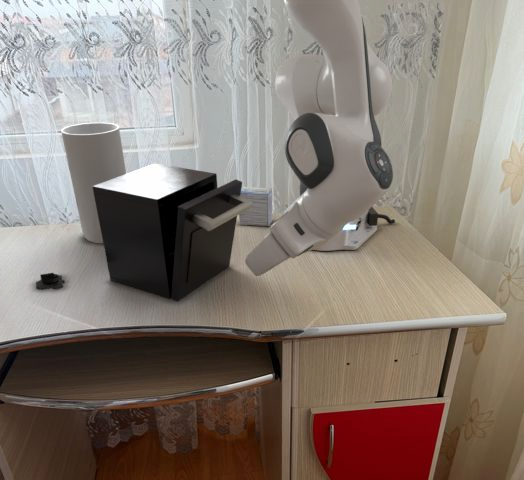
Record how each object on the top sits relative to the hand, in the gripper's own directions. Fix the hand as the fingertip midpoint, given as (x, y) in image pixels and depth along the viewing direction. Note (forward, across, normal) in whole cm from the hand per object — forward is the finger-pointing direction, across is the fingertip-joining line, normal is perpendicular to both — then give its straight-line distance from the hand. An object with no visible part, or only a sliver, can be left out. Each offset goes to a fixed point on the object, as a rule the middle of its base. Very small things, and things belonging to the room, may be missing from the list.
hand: (262, 262), depth 101 cm
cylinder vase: (+42, -10, -30) cm, 52 cm away
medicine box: (+22, -34, -10) cm, 42 cm away
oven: (+22, 0, -11) cm, 25 cm away
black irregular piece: (+36, +16, -24) cm, 46 cm away
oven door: (+15, 0, -3) cm, 15 cm away
